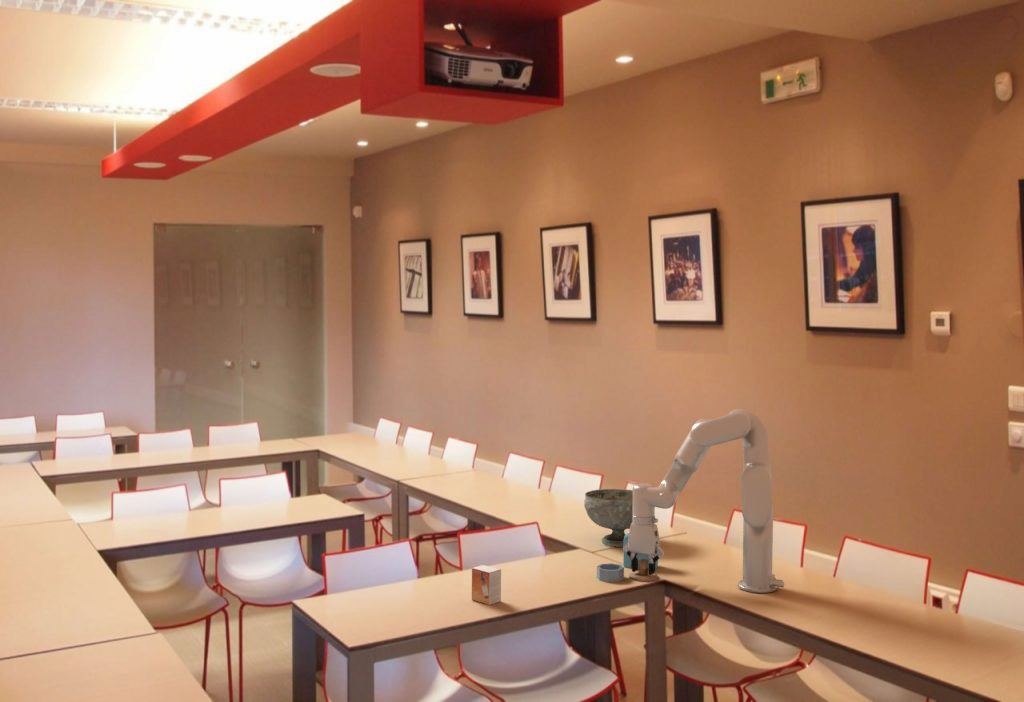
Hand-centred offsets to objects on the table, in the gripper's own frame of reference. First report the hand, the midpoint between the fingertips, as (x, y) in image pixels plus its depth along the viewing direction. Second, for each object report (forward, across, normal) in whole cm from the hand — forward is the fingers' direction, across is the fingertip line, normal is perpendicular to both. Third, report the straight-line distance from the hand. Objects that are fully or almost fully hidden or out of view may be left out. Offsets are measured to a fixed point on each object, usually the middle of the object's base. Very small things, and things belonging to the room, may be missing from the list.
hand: (643, 571), depth 336 cm
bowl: (+3, +9, +7) cm, 12 cm away
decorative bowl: (+3, +31, -40) cm, 50 cm away
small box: (+3, +31, +49) cm, 58 cm away
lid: (+2, 0, 0) cm, 2 cm away
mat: (+3, 0, 0) cm, 3 cm away
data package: (+3, +7, -12) cm, 14 cm away
